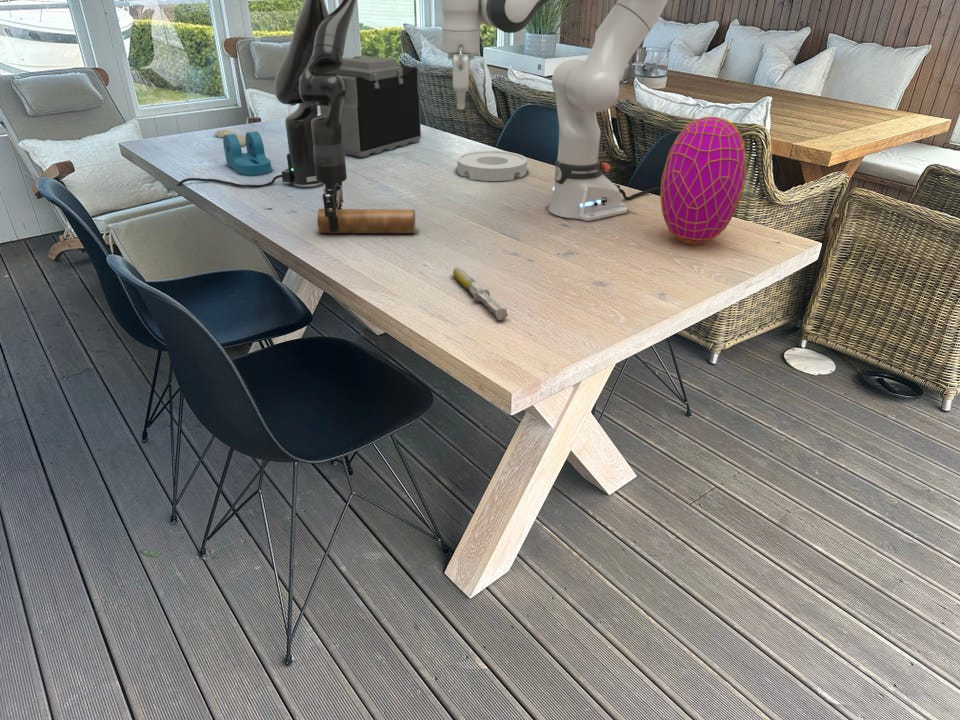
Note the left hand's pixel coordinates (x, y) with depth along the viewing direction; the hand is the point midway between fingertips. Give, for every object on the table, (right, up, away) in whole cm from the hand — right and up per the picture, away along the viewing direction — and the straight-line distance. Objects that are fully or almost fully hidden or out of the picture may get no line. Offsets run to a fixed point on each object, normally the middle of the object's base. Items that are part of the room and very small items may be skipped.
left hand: (336, 226), depth 177 cm
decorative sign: (-57, +51, +89) cm, 118 cm away
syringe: (+37, -21, -32) cm, 53 cm away
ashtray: (+41, +28, +52) cm, 72 cm away
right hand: (+32, +28, -9) cm, 44 cm away
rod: (+8, -1, +1) cm, 8 cm away
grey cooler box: (-4, +46, +81) cm, 93 cm away
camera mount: (-39, +29, +52) cm, 72 cm away
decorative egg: (+91, -4, -2) cm, 91 cm away
